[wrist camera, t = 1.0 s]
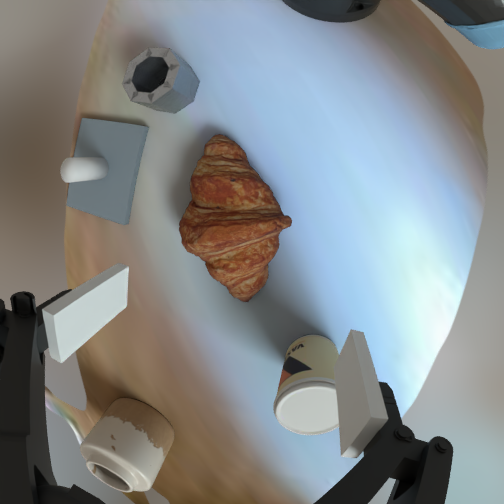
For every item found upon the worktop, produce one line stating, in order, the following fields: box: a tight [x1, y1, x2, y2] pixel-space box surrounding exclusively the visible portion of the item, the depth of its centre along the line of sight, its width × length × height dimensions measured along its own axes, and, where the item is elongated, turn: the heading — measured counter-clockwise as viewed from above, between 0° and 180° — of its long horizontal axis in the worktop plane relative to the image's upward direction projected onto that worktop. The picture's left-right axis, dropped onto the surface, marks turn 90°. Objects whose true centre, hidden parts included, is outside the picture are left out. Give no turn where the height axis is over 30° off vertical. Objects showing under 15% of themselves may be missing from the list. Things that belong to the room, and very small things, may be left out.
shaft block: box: [61, 118, 149, 225], centre depth 34 cm, size 14×12×8 cm
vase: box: [80, 398, 174, 492], centre depth 44 cm, size 15×15×17 cm
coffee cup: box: [274, 335, 339, 435], centre depth 35 cm, size 9×9×12 cm
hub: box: [122, 48, 200, 113], centre depth 31 cm, size 7×7×7 cm
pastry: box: [179, 134, 292, 302], centre depth 34 cm, size 17×15×8 cm
